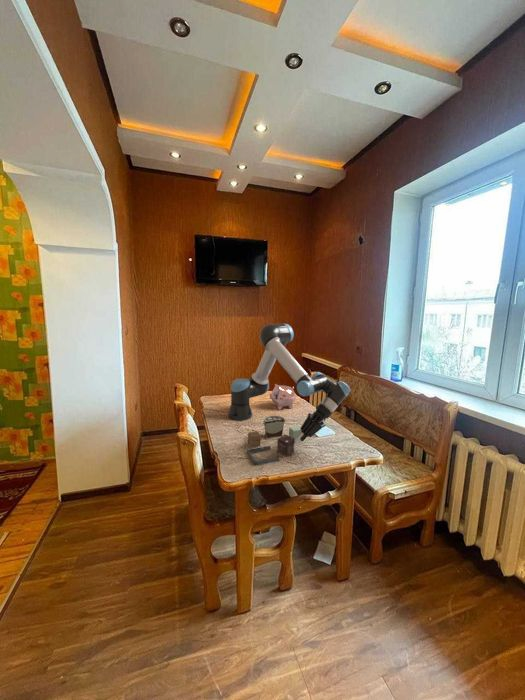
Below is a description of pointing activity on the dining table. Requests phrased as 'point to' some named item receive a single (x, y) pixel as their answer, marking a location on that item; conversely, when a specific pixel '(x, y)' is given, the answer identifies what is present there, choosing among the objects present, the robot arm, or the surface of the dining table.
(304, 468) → the dining table surface
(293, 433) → the sage green block
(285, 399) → the piggy bank
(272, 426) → the food container
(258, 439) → the walnut block
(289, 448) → the box
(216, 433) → the dining table surface
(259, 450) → the corral
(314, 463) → the dining table surface
